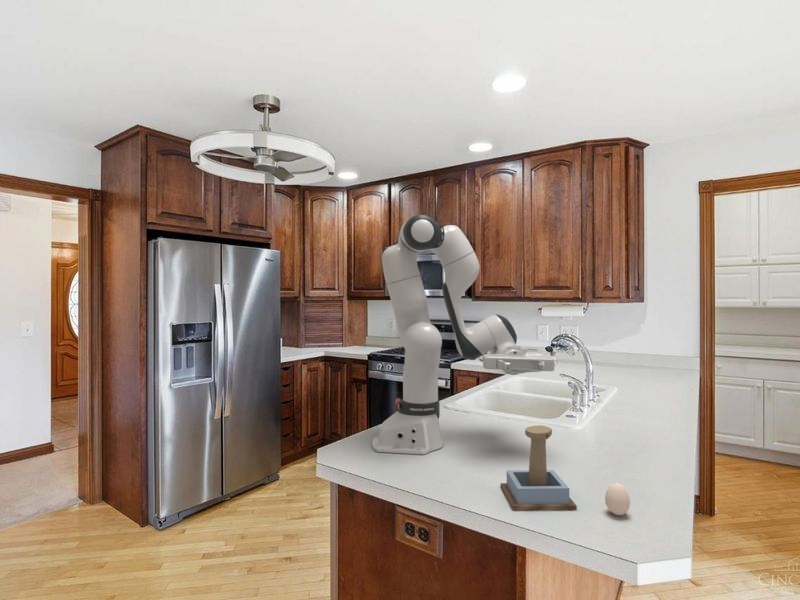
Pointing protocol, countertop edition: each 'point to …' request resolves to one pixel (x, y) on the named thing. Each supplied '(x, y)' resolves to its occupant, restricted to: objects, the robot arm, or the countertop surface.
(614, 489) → the egg
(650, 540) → the countertop surface
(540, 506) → the board
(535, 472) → the handle
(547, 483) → the square frame
